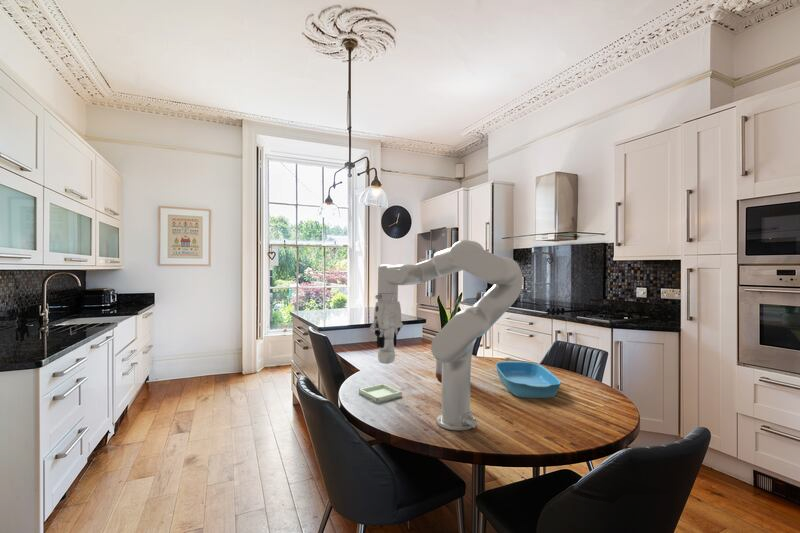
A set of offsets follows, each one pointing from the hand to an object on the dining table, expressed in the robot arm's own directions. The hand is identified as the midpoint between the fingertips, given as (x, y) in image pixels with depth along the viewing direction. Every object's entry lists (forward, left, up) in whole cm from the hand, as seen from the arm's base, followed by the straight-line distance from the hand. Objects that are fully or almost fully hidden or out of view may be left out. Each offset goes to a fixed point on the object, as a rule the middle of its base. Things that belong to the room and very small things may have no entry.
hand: (386, 345), depth 141 cm
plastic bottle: (0, 0, -7) cm, 7 cm away
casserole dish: (-18, -62, -23) cm, 69 cm away
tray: (+11, -5, -23) cm, 26 cm away
